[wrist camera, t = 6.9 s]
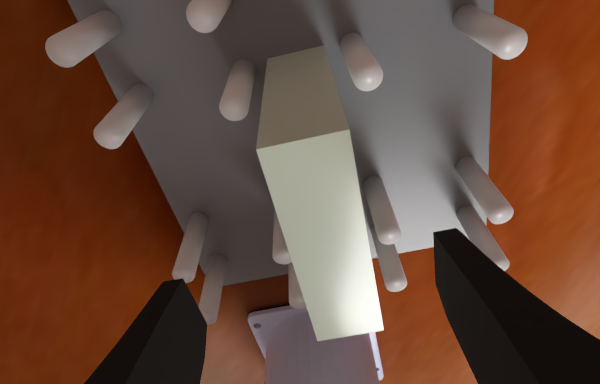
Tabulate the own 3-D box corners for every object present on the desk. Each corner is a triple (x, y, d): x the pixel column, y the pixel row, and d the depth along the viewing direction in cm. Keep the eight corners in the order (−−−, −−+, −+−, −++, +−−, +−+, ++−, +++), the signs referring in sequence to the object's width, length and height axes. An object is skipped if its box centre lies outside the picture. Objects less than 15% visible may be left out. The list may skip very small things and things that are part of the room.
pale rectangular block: (352, 200, 21) (383, 330, 15) (307, 209, 21) (317, 341, 15) (323, 45, 17) (349, 129, 10) (267, 58, 17) (255, 149, 10)
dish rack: (478, 226, 24) (520, 291, 20) (213, 275, 25) (199, 346, 21) (487, -145, 14) (568, -169, 10) (66, -29, 16) (-11, -9, 12)
